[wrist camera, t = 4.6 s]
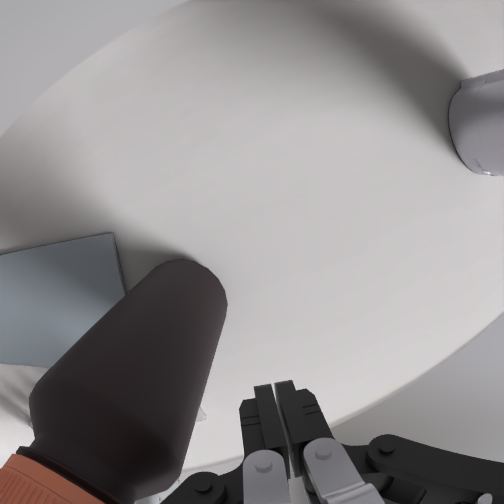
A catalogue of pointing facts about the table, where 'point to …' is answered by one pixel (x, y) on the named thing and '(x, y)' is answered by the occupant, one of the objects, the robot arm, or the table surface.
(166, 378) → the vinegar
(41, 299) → the slate mat
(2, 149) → the table surface
